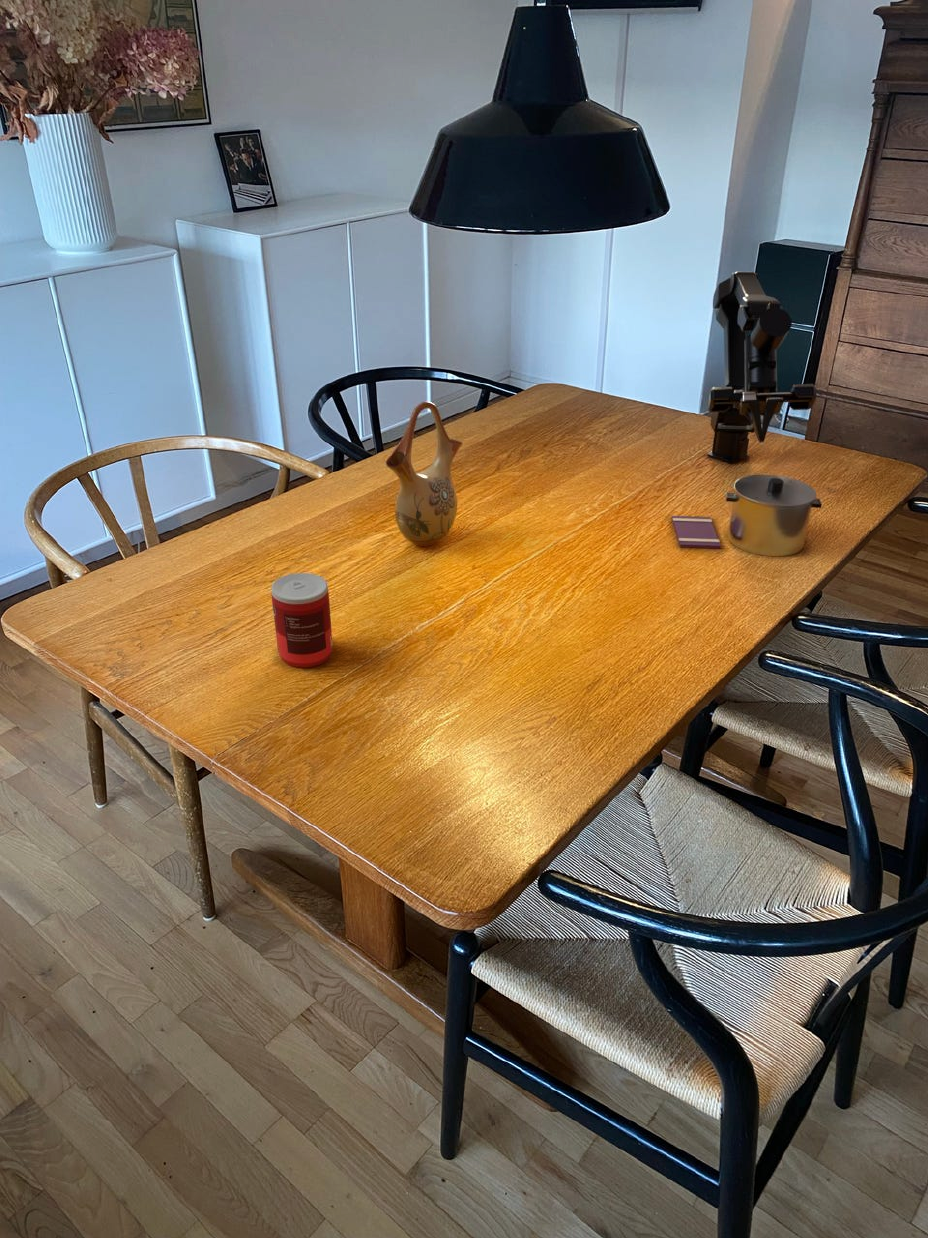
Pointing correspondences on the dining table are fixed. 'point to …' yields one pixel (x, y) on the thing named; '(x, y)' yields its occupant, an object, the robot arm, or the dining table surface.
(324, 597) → the canned food
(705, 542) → the purple striped coaster
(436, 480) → the ceramic vessel
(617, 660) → the dining table surface
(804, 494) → the steel pot
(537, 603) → the dining table surface
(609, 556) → the dining table surface
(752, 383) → the robot arm
